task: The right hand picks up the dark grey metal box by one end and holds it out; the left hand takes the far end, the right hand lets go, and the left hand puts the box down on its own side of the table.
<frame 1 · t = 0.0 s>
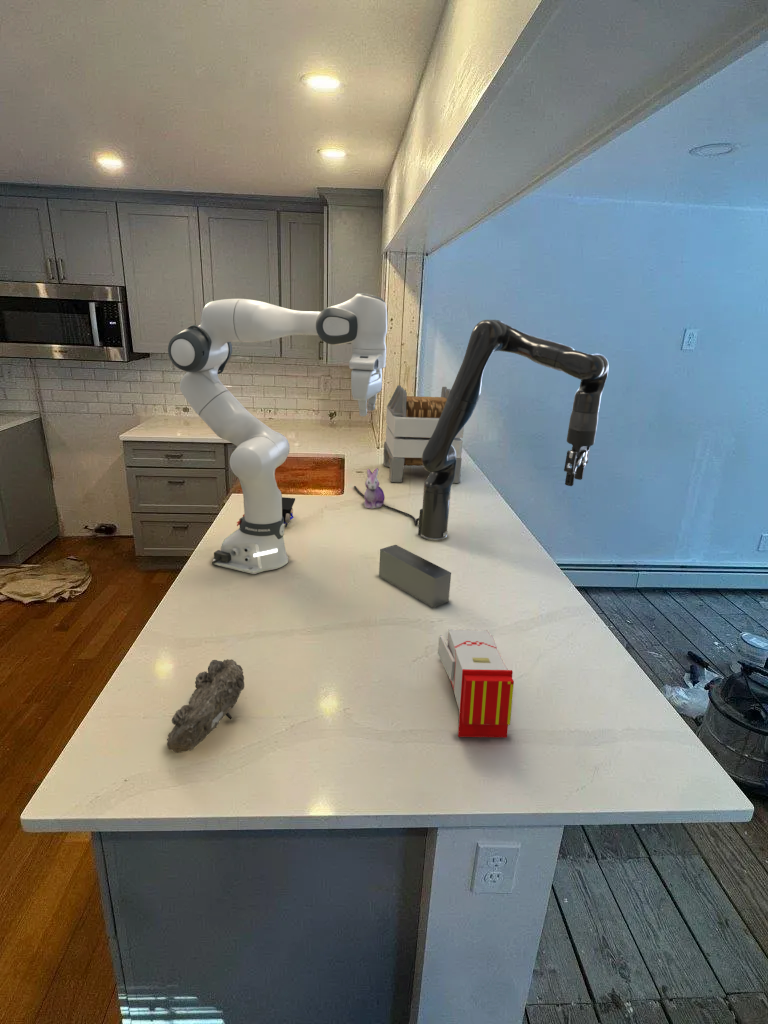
left hand: (367, 413, 153), 48 cm above the counter, tool pointing down, fingers open, 8 cm apart
right hand: (573, 482, 165), 29 cm above the counter, tool pointing down, fingers open, 8 cm apart
toy: (469, 691, 119), on the counter
grey crate: (419, 473, 275), on the counter
figurine character: (284, 522, 205), on the counter
box: (412, 588, 161), on the counter
figurine: (373, 505, 227), on the counter
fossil: (212, 717, 108), on the counter
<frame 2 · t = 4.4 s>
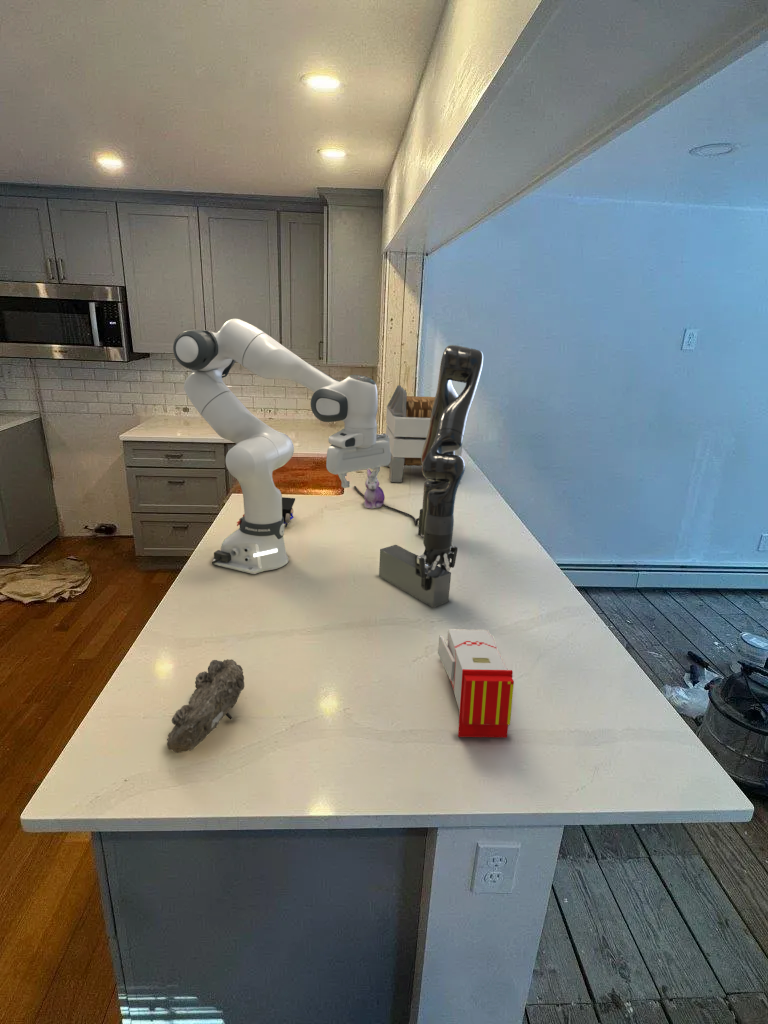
left hand: (358, 484, 160), 28 cm above the counter, tool pointing down, fingers open, 8 cm apart
right hand: (434, 585, 154), 4 cm above the counter, tool pointing down, fingers closed on box, 6 cm apart
box: (412, 588, 161), on the counter, touching right hand
everything else where it was.
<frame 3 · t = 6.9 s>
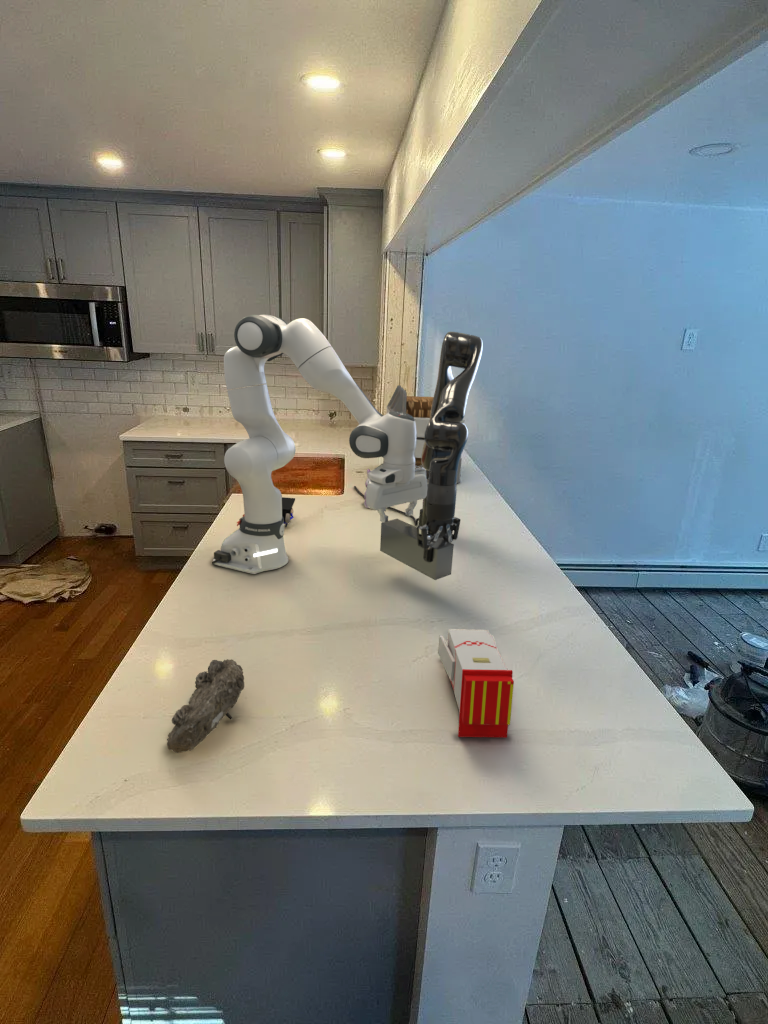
left hand: (396, 518, 161), 19 cm above the counter, tool pointing down, fingers open, 8 cm apart
right hand: (436, 558, 151), 13 cm above the counter, tool pointing down, fingers closed on box, 6 cm apart
box: (414, 562, 159), point 8 cm above the counter, touching right hand
everything else where it was.
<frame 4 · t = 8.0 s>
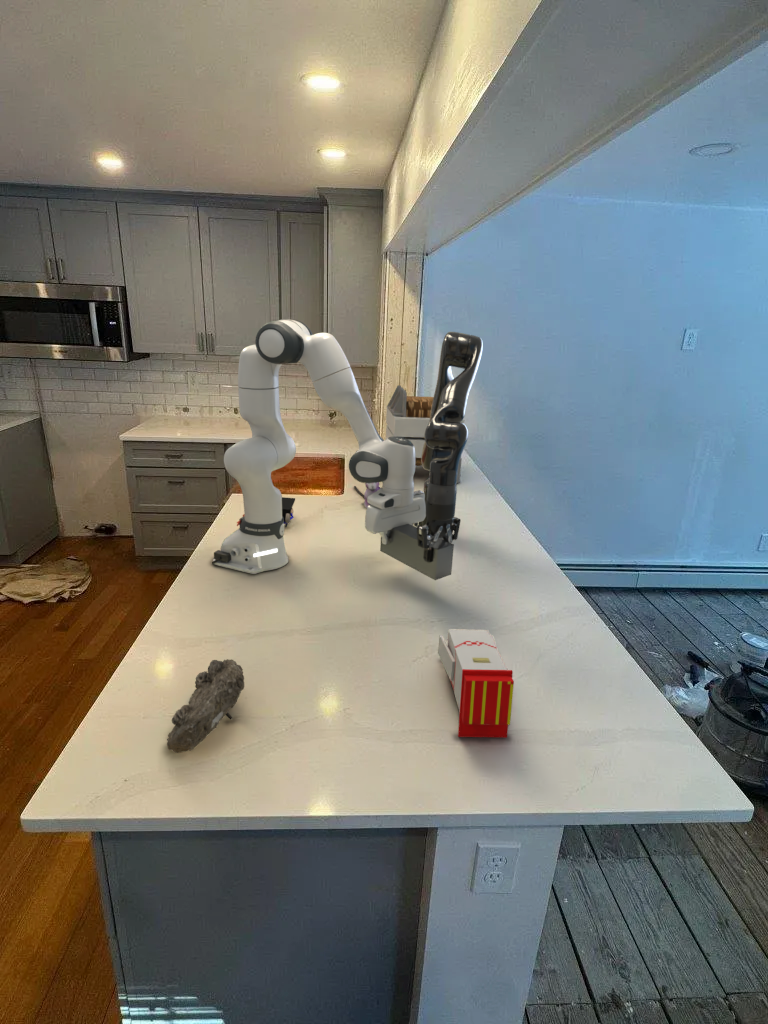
left hand: (395, 540, 163), 12 cm above the counter, tool pointing down, fingers closed on box, 6 cm apart
right hand: (436, 558, 151), 13 cm above the counter, tool pointing down, fingers closed on box, 6 cm apart
box: (414, 562, 159), point 8 cm above the counter, touching right hand, left hand
everything else where it was.
when the right hand's fingers open (13 cm above the counter, at t = 9.4 s): box moves 1 cm, held by the left hand.
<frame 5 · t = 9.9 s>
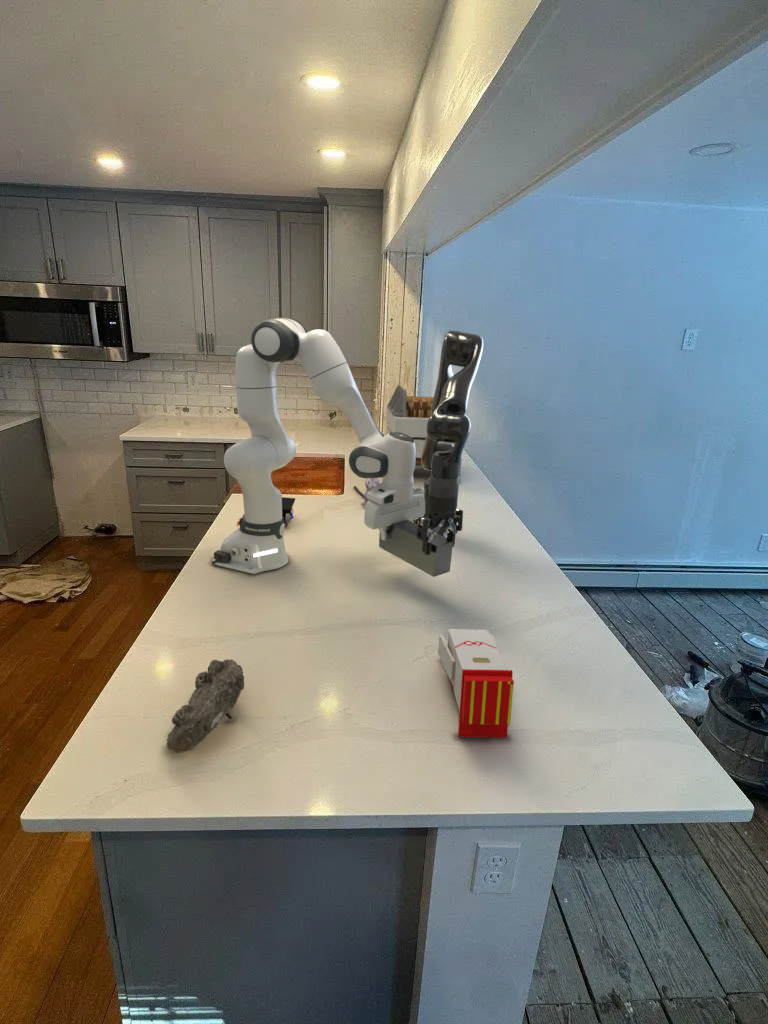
left hand: (394, 536, 163), 13 cm above the counter, tool pointing down, fingers closed on box, 6 cm apart
right hand: (438, 550, 149), 15 cm above the counter, tool pointing down, fingers open, 8 cm apart
box: (412, 558, 158), point 9 cm above the counter, touching left hand
everything else where it was.
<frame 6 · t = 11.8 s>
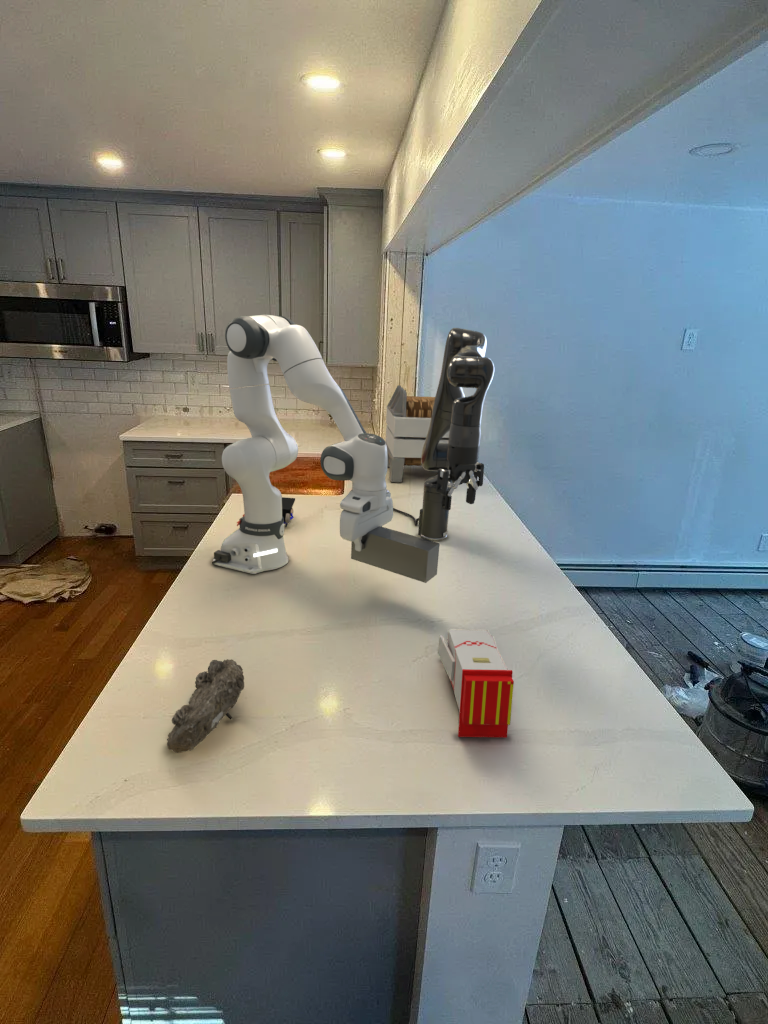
left hand: (366, 545, 152), 15 cm above the counter, tool pointing down, fingers closed on box, 6 cm apart
right hand: (458, 506, 141), 29 cm above the counter, tool pointing down, fingers open, 8 cm apart
box: (393, 566, 149), point 11 cm above the counter, touching left hand
everything else where it was.
when the left hand's fingers open (5 cm above the counter, at t = 15.8 s): box stays where it is, on the counter.
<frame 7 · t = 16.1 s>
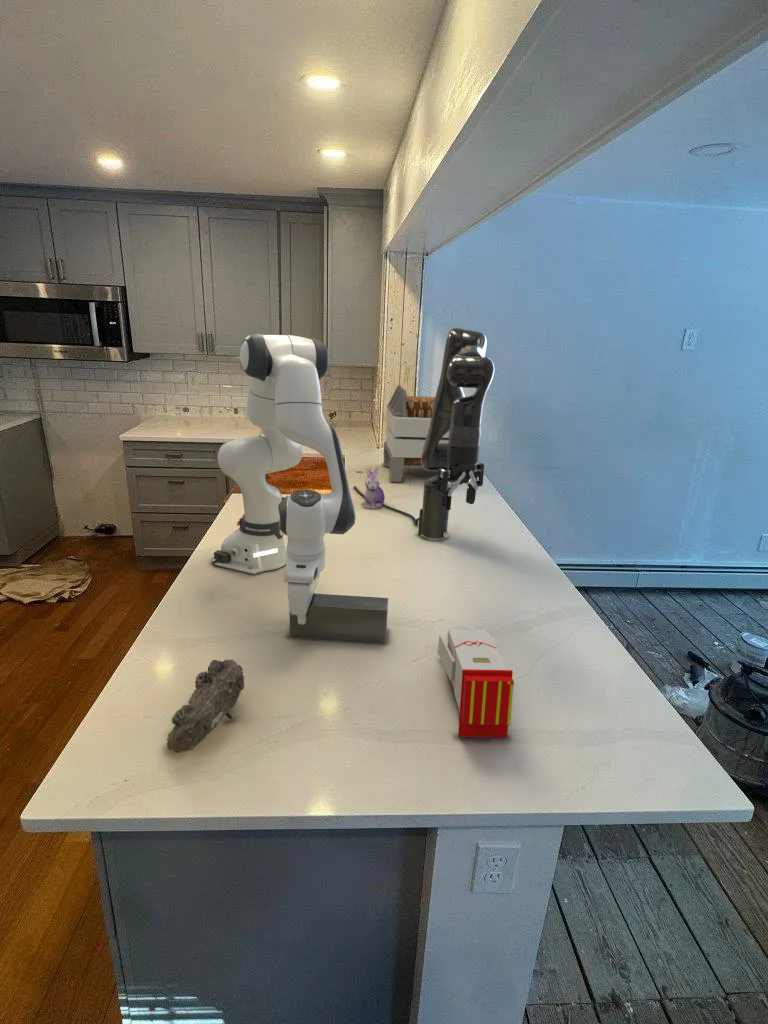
left hand: (305, 612, 136), 5 cm above the counter, tool pointing down, fingers open, 8 cm apart
right hand: (458, 506, 141), 29 cm above the counter, tool pointing down, fingers open, 8 cm apart
box: (339, 633, 138), on the counter
everything else where it was.
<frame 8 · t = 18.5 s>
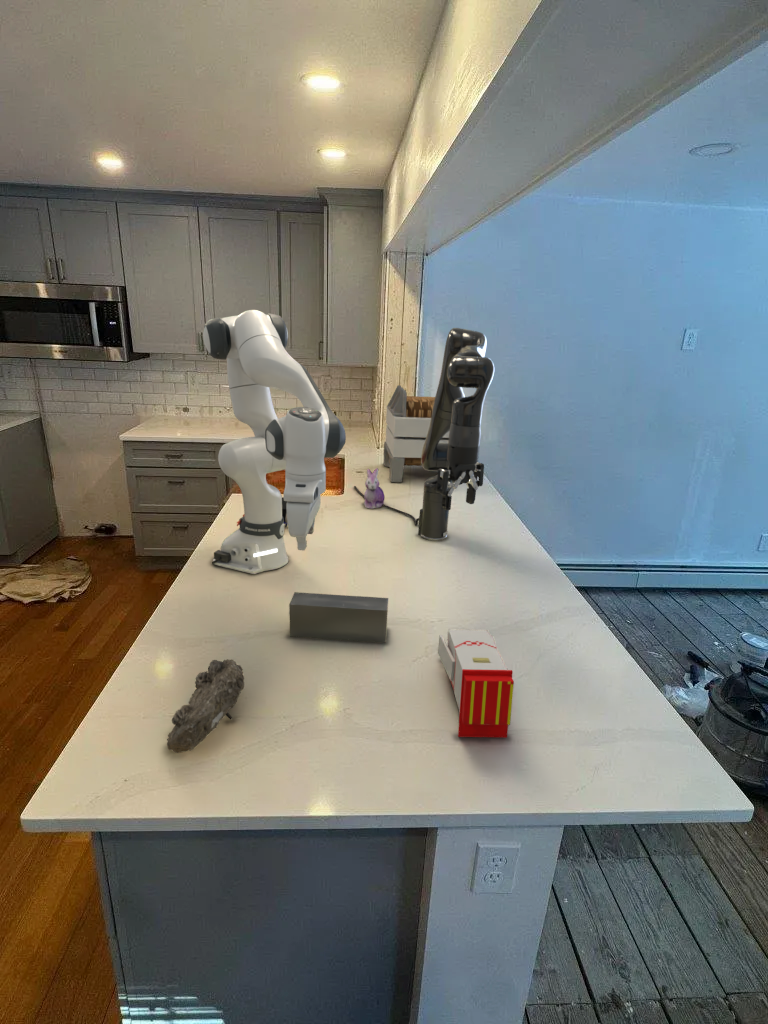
left hand: (306, 540, 130), 24 cm above the counter, tool pointing down, fingers open, 8 cm apart
right hand: (458, 506, 141), 29 cm above the counter, tool pointing down, fingers open, 8 cm apart
nothing on the counter moved.
at the end: box inside the target area (8.0 cm from its centre), on the counter; the left hand is holding nothing; the right hand is holding nothing; box at rest at the end (0.0 cm/s) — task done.
